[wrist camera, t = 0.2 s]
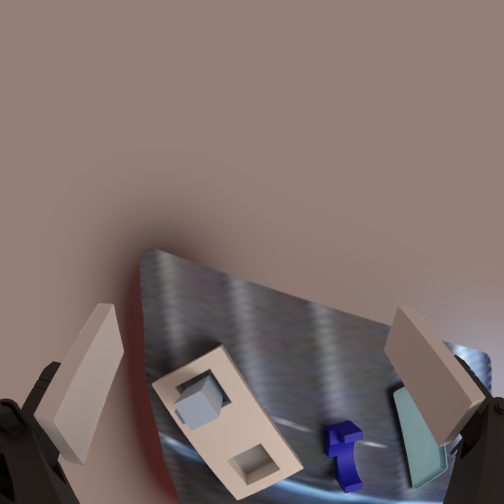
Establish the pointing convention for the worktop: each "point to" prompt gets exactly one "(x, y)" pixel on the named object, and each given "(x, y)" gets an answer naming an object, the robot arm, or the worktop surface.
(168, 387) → the socket strip
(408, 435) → the rectangular tray
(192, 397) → the plug
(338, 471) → the blue angular bent piece
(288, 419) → the worktop surface
